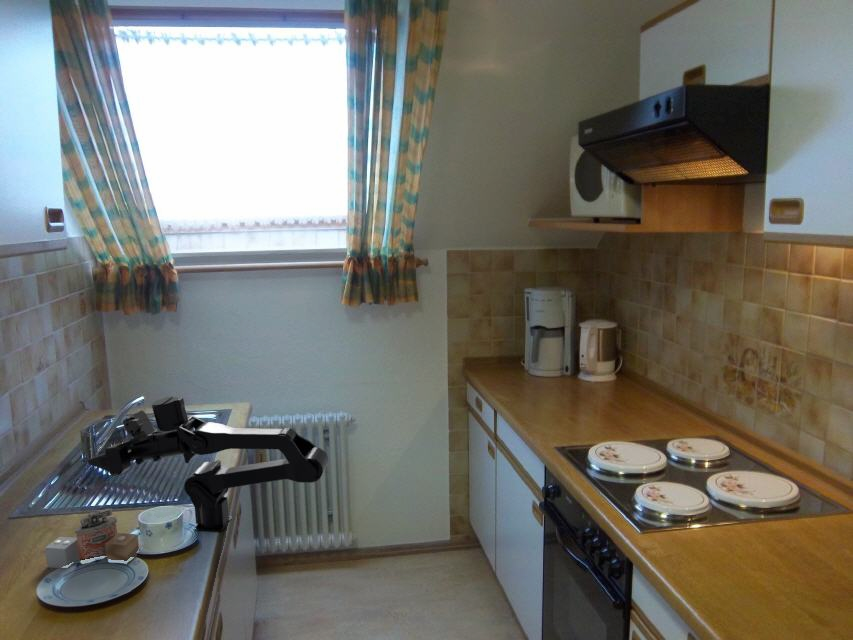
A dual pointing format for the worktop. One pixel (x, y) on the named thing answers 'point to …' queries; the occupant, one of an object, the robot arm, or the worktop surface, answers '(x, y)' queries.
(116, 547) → the walnut block
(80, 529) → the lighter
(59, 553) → the grey block
